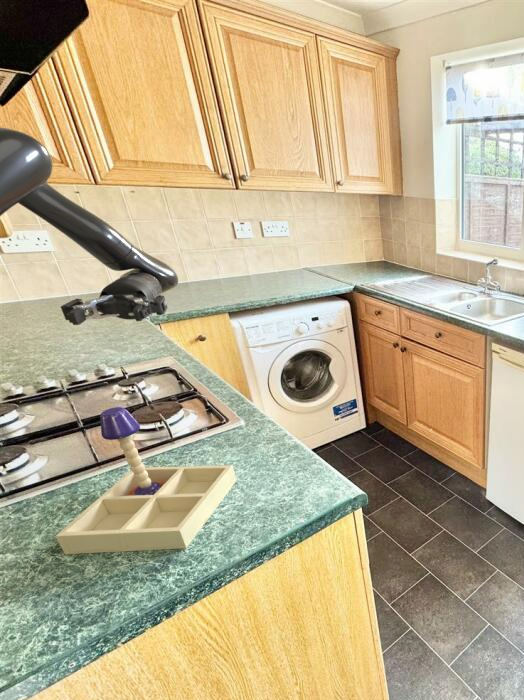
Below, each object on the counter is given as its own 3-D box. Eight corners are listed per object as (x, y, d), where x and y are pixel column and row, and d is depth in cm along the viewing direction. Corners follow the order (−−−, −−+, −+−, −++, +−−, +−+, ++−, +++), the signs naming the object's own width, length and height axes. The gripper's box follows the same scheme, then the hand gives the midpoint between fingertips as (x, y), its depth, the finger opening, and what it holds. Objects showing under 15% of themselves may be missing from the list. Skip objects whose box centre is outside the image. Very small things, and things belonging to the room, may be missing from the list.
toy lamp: (131, 507, 70) (95, 420, 63) (126, 494, 72) (91, 409, 66) (167, 494, 73) (136, 410, 66) (161, 482, 76) (131, 400, 69)
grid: (64, 554, 62) (55, 536, 60) (140, 483, 76) (133, 467, 75) (186, 548, 64) (179, 530, 62) (236, 480, 79) (232, 465, 77)
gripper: (78, 279, 82) (41, 298, 69) (168, 277, 88) (150, 294, 75) (92, 316, 85) (59, 341, 72) (178, 311, 91) (162, 334, 78)
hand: (106, 317), depth 74 cm, fingers open, 8 cm apart
